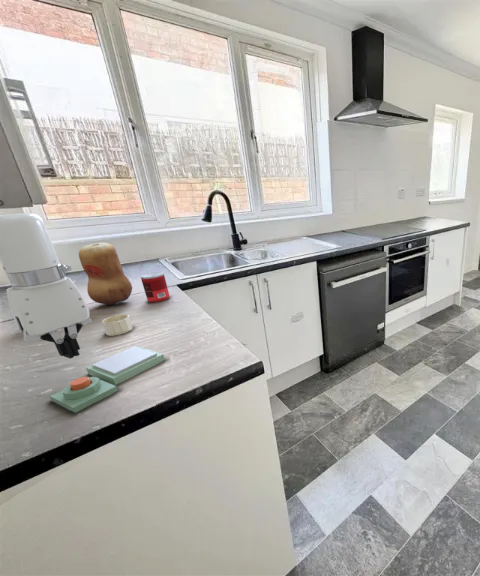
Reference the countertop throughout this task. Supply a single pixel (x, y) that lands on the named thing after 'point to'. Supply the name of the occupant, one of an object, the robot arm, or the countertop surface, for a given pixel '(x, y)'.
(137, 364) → the scale
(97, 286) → the butternut squash
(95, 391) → the pad
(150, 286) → the canned food
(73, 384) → the button
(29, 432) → the countertop surface
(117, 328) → the bowl
